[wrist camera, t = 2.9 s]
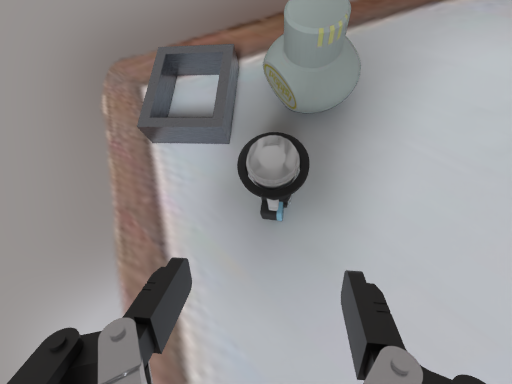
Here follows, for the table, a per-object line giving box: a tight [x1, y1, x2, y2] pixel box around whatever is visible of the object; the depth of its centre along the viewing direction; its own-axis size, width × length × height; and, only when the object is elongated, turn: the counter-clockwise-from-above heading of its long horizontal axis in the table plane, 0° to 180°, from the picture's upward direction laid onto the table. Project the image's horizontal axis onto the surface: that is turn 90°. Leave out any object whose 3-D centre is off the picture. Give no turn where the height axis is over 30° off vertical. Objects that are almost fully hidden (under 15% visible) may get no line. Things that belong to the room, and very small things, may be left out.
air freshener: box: [263, 0, 361, 113], centre depth 27 cm, size 11×8×10 cm
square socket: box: [137, 44, 239, 144], centre depth 31 cm, size 10×12×4 cm
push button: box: [237, 132, 309, 221], centre depth 22 cm, size 7×5×10 cm
